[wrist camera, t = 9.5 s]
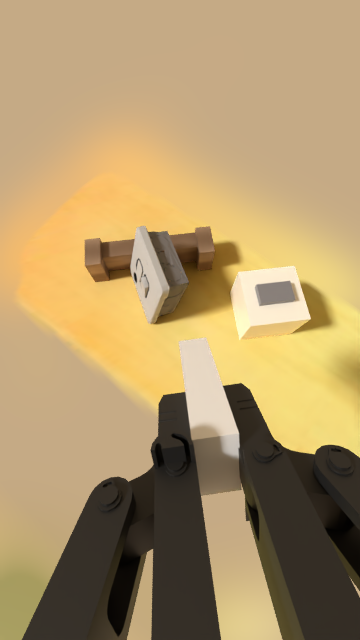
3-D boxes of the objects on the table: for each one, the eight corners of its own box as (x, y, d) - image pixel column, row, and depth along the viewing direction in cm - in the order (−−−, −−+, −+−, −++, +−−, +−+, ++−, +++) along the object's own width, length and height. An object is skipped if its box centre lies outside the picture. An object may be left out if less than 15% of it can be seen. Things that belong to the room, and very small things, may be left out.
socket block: (290, 334, 36) (314, 316, 29) (239, 340, 35) (252, 323, 29) (277, 287, 38) (297, 262, 32) (229, 293, 38) (239, 268, 31)
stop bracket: (211, 268, 39) (214, 251, 35) (95, 282, 38) (84, 265, 34) (206, 246, 40) (209, 226, 36) (95, 258, 39) (84, 239, 35)
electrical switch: (129, 270, 39) (122, 227, 30) (162, 261, 40) (165, 217, 31) (149, 327, 36) (147, 296, 27) (184, 316, 37) (193, 283, 28)
